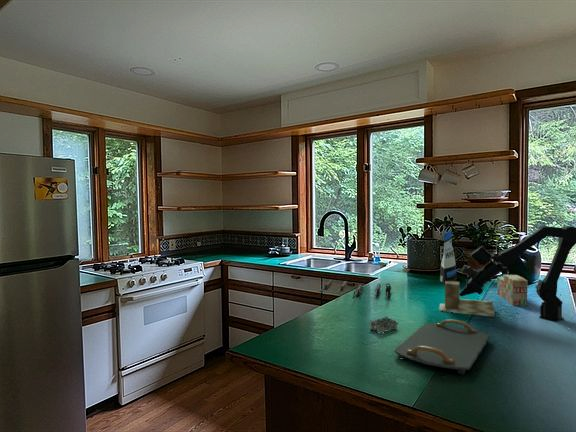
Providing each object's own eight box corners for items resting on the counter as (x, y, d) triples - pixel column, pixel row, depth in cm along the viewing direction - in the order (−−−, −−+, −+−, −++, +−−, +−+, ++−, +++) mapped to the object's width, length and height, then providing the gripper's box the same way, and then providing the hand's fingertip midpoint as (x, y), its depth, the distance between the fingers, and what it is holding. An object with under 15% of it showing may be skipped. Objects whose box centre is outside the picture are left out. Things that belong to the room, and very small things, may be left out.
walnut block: (459, 305, 172) (459, 281, 172) (459, 309, 167) (459, 284, 166) (445, 304, 175) (445, 281, 174) (445, 307, 169) (444, 283, 169)
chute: (492, 310, 168) (492, 301, 168) (494, 316, 159) (494, 307, 159) (439, 305, 177) (439, 297, 177) (439, 311, 168) (439, 302, 168)
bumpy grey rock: (380, 335, 141) (380, 324, 141) (366, 329, 148) (366, 319, 148) (400, 329, 147) (400, 319, 146) (386, 324, 153) (386, 314, 153)
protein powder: (435, 283, 222) (435, 233, 221) (444, 276, 242) (443, 230, 241) (453, 285, 217) (452, 234, 215) (459, 277, 237) (459, 230, 236)
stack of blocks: (497, 294, 196) (497, 271, 195) (510, 294, 194) (510, 271, 194) (512, 305, 175) (512, 279, 174) (527, 306, 173) (527, 280, 173)
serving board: (427, 327, 149) (427, 312, 149) (493, 340, 135) (493, 323, 134) (388, 362, 119) (388, 343, 118) (467, 382, 104) (467, 361, 104)
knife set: (317, 300, 187) (317, 284, 187) (329, 288, 219) (329, 275, 219) (389, 306, 177) (389, 290, 177) (391, 292, 208) (391, 279, 208)
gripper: (472, 256, 175) (446, 278, 180) (474, 262, 158) (445, 286, 163) (491, 274, 172) (464, 295, 177) (495, 282, 155) (465, 306, 160)
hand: (460, 295), depth 169 cm, fingers closed, pressing on walnut block
